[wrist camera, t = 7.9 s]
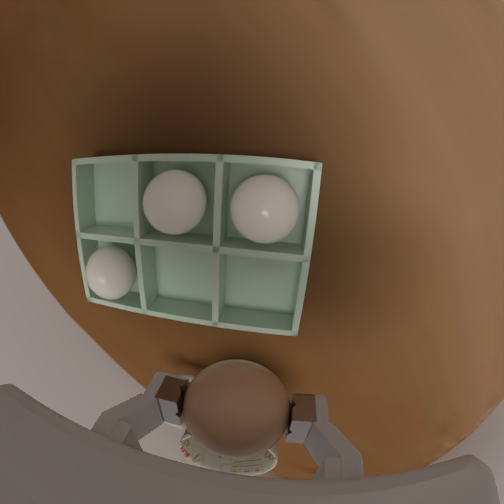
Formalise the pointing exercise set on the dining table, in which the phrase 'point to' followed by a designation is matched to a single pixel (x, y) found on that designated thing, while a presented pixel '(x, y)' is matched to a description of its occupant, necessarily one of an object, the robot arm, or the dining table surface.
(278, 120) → the dining table surface
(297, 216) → the white egg
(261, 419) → the brown egg
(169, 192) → the white egg
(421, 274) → the dining table surface
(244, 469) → the mug
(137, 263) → the egg tray
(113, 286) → the white egg
